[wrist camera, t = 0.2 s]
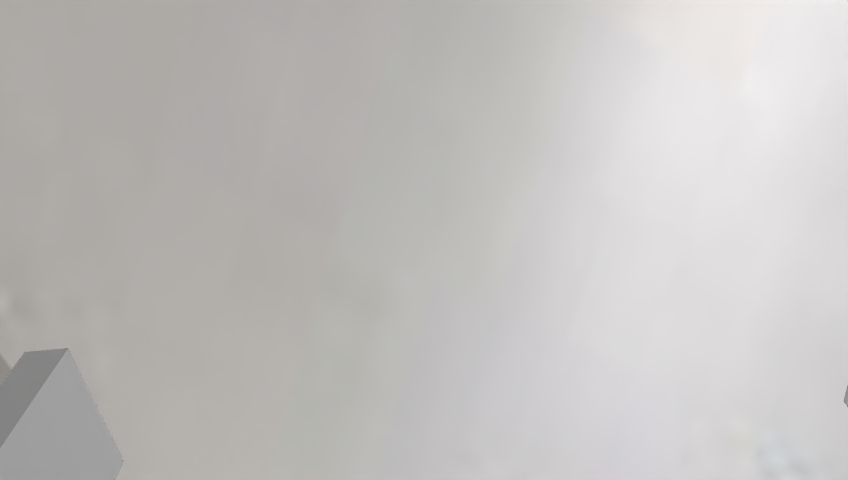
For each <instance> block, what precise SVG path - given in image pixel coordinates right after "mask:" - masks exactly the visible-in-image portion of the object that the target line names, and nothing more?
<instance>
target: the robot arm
mask: <svg viewBox="0 0 848 480" xmlns="http://www.w3.org/2000/svg"><path fill="white" fill-rule="evenodd" d="M844 402H845V404H846V405H847V407H848V386H847V390H846V394H845V398H844ZM123 462H124V460H123V458H122V456H121V454H120V452H119V450H118V448H117V446H116V444H115V442H114V440H113V438H112V436H111V434H110V432H109V430H108V427H107V425H106V423H105V421H104V419H103V417H102V415H101V413H100V411H99V409H98V407H97V405H96V403H95V401H94V399H93V397H92V395H91V393H90V391H89V389H88V387H87V385H86V383H85V381H84V379H83V377H82V375H81V373H80V371H79V369H78V367H77V365H76V363H75V361H74V359H73V357H72V355H71V353H70V351H69V349H68V348H64V349H54V350H43V351H33V352H25V353H24V354H23V355H22V357H21V358H20V359H19V361H18V362H17V363H16V365H15V366H14V367H13V369H12V370H11V371H10V373H9V374H8V375H7V377H6V378H5V379H4V381H3V382H2V383H1V385H0V480H115V479H116V477H117V475H118V473H119V471H120V468H121V466H122V464H123Z"/></svg>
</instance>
